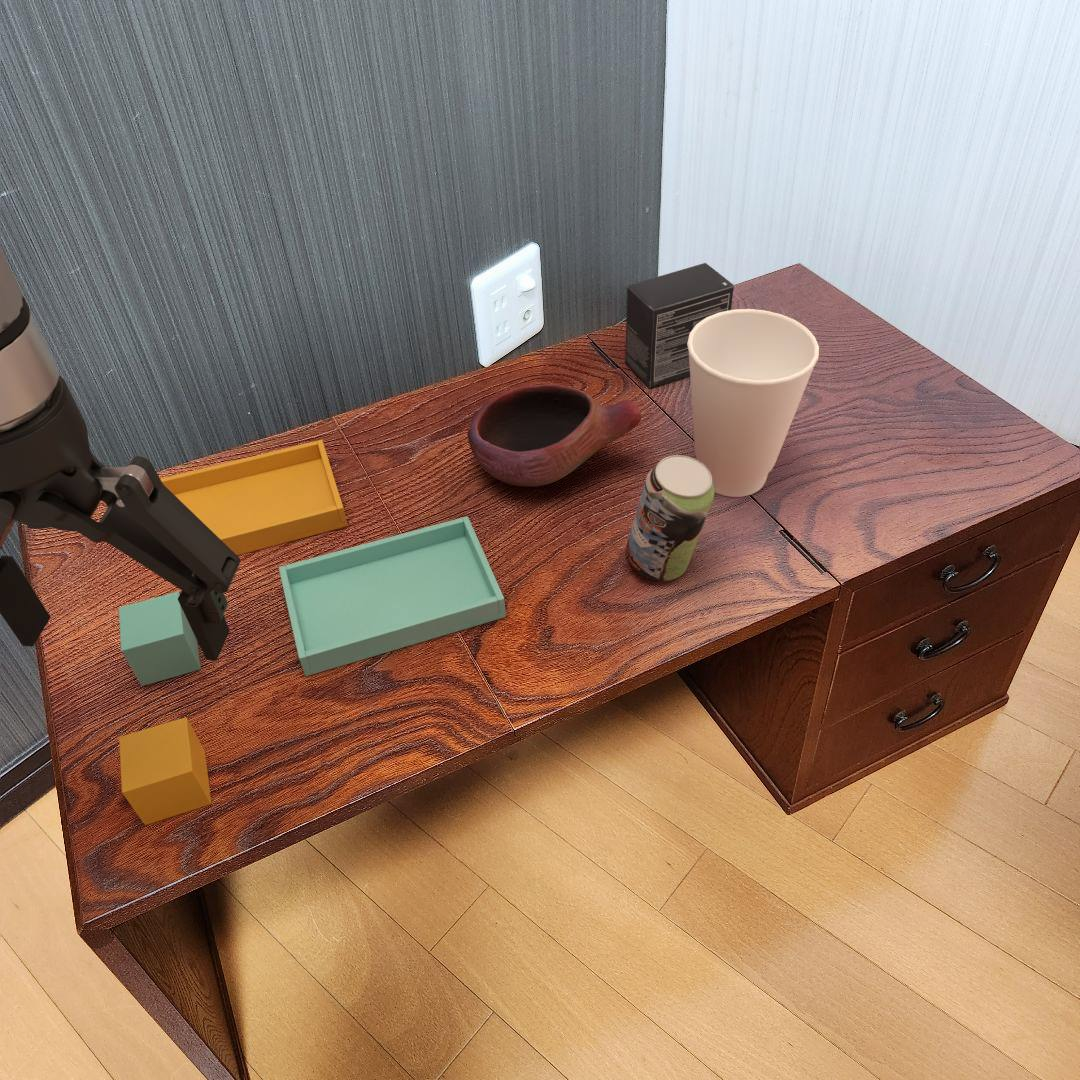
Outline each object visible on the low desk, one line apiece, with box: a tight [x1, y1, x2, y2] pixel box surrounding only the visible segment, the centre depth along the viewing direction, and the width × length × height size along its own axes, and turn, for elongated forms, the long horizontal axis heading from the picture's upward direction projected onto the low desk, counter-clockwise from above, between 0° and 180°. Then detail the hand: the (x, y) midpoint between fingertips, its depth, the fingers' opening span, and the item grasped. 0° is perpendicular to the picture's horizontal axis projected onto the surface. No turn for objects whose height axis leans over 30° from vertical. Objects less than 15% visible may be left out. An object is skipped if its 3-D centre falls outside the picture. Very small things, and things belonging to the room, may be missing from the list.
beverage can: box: [625, 454, 715, 582], centre depth 83 cm, size 6×7×12 cm
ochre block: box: [118, 717, 212, 826], centre depth 71 cm, size 5×5×5 cm
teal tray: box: [278, 516, 507, 677], centre depth 85 cm, size 18×11×3 cm, turn 110°
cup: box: [687, 308, 820, 498], centre depth 90 cm, size 12×12×16 cm
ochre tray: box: [160, 439, 349, 556], centre depth 93 cm, size 18×11×3 cm, turn 110°
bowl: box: [466, 383, 642, 487], centre depth 96 cm, size 16×13×8 cm
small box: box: [624, 262, 735, 389], centre depth 106 cm, size 11×6×10 cm, turn 115°
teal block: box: [118, 591, 202, 687], centre depth 80 cm, size 5×5×5 cm
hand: (127, 638), depth 66 cm, fingers open, 13 cm apart
